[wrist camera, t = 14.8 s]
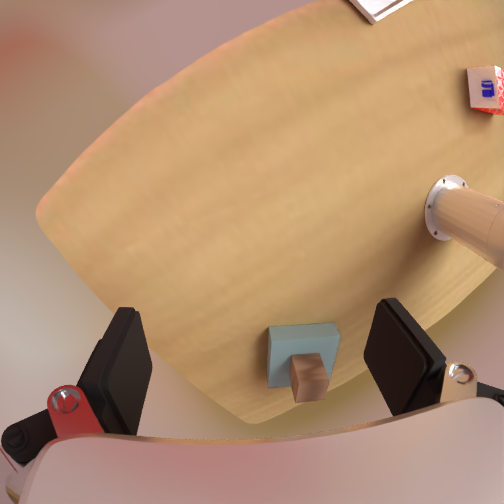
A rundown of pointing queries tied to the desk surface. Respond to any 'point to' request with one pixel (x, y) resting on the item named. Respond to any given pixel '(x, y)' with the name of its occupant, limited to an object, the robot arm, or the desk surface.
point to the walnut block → (308, 377)
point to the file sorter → (378, 8)
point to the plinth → (299, 348)
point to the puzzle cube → (487, 89)
